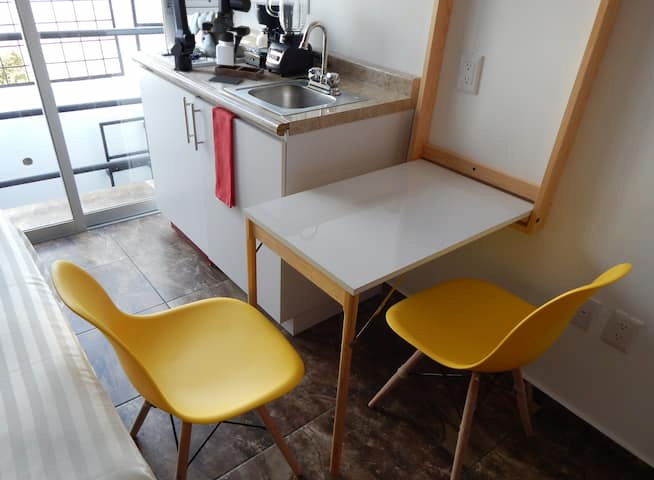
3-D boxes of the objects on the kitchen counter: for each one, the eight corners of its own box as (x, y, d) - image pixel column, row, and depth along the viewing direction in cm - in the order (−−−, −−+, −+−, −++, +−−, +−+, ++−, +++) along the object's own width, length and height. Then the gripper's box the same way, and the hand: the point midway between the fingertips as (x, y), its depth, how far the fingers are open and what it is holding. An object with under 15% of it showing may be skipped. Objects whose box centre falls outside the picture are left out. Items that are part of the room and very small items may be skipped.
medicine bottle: (234, 66, 199) (233, 34, 192) (216, 64, 198) (215, 32, 192) (236, 62, 204) (236, 31, 198) (219, 60, 204) (219, 29, 197)
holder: (215, 74, 211) (214, 67, 209) (223, 70, 219) (223, 63, 218) (257, 80, 208) (257, 73, 207) (264, 75, 217) (264, 68, 215)
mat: (208, 80, 202) (208, 79, 202) (217, 76, 209) (216, 75, 209) (236, 84, 200) (236, 83, 200) (243, 79, 208) (243, 78, 207)
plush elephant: (223, 48, 259) (222, 5, 248) (248, 56, 247) (248, 11, 235) (179, 52, 243) (175, 5, 232) (203, 61, 231) (201, 12, 219)
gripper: (195, 8, 185) (197, 51, 193) (241, 14, 182) (241, 58, 191) (206, 5, 194) (208, 47, 203) (250, 11, 191) (250, 53, 200)
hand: (226, 51), depth 199 cm, fingers closed on medicine bottle, 7 cm apart
